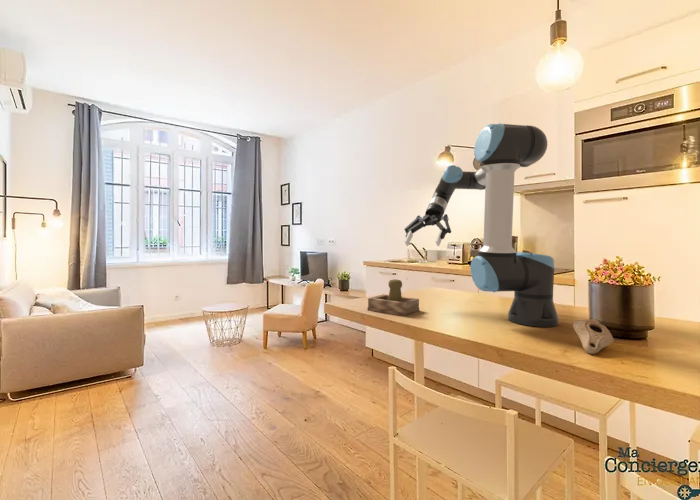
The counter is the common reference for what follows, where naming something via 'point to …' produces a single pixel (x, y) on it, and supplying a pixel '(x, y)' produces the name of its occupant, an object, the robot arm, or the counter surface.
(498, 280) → the robot arm
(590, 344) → the pottery oil lamp
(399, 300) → the cork
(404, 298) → the brown tray
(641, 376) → the counter surface
